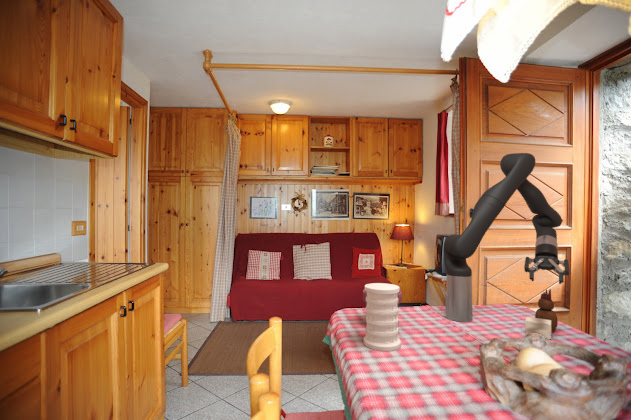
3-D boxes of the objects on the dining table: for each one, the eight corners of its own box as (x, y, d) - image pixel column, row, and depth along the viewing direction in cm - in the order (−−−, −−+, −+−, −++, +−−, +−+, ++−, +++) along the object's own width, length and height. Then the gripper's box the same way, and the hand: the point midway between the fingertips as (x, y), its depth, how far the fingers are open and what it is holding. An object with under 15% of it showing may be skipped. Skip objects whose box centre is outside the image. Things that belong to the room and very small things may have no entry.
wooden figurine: (560, 334, 110) (559, 290, 111) (542, 333, 111) (541, 289, 112) (550, 328, 117) (549, 286, 117) (533, 327, 118) (532, 285, 119)
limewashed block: (525, 335, 109) (525, 320, 109) (527, 330, 114) (526, 316, 114) (551, 340, 105) (550, 324, 105) (551, 335, 110) (551, 320, 110)
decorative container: (402, 339, 105) (402, 284, 105) (399, 353, 94) (399, 291, 95) (366, 335, 109) (366, 281, 109) (360, 348, 98) (360, 288, 98)
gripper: (525, 242, 134) (523, 273, 125) (568, 243, 126) (570, 277, 116) (526, 253, 138) (524, 284, 129) (568, 256, 130) (569, 289, 120)
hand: (546, 281), depth 122 cm, fingers open, 8 cm apart
